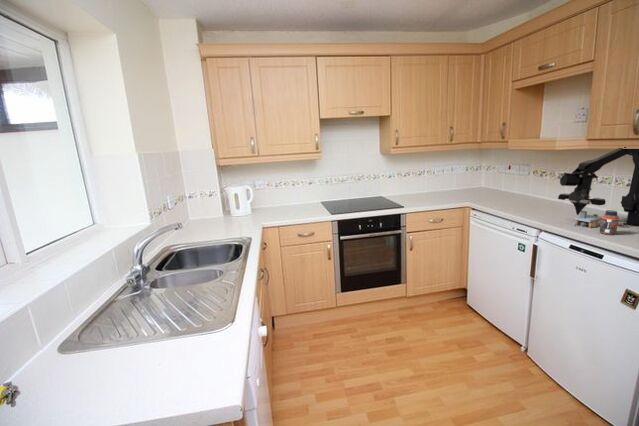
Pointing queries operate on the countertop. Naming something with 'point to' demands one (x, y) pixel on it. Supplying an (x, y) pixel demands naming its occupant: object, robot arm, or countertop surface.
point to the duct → (590, 223)
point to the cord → (584, 223)
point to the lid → (588, 217)
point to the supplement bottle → (609, 223)
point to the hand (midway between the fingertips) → (577, 214)
